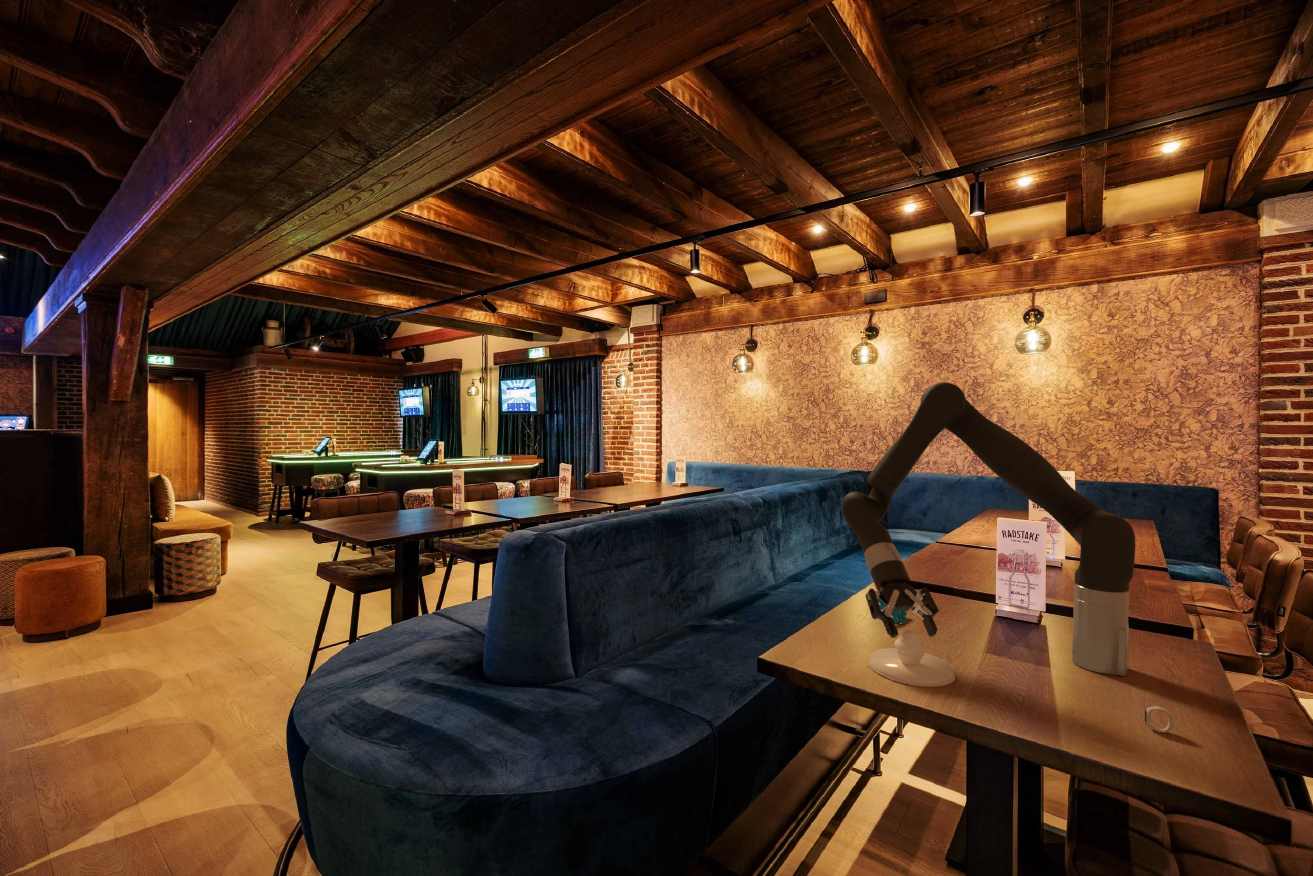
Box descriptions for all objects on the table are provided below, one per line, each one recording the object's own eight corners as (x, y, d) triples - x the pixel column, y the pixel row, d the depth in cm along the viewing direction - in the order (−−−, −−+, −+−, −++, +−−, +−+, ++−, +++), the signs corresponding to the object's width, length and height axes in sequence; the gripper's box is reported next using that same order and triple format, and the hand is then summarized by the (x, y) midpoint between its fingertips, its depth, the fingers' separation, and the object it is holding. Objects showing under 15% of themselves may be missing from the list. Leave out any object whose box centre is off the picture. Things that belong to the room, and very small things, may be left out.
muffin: (915, 671, 115) (916, 637, 115) (887, 661, 120) (888, 628, 120) (931, 664, 119) (932, 631, 119) (904, 654, 124) (905, 622, 124)
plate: (965, 668, 120) (965, 662, 120) (940, 695, 108) (941, 689, 108) (885, 646, 131) (885, 641, 131) (854, 669, 119) (854, 663, 119)
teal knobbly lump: (893, 622, 143) (872, 587, 149) (877, 634, 146) (856, 599, 152) (918, 620, 149) (896, 587, 155) (901, 631, 152) (881, 598, 159)
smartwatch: (1172, 732, 96) (1172, 708, 96) (1174, 737, 94) (1174, 713, 94) (1144, 725, 98) (1144, 702, 98) (1145, 730, 96) (1146, 707, 96)
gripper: (862, 559, 126) (889, 629, 114) (922, 558, 127) (954, 626, 116) (851, 576, 131) (875, 645, 120) (908, 575, 133) (937, 642, 122)
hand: (914, 635), depth 118 cm, fingers open, 8 cm apart
